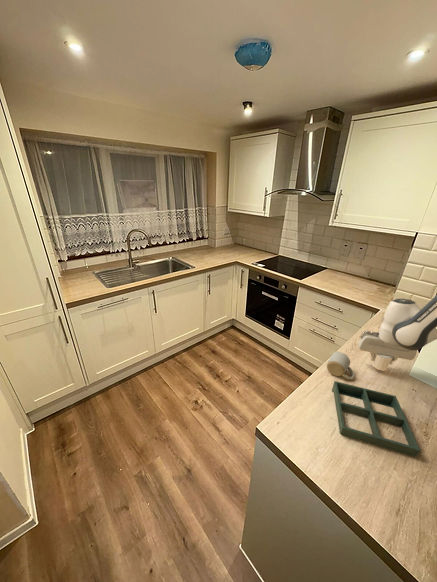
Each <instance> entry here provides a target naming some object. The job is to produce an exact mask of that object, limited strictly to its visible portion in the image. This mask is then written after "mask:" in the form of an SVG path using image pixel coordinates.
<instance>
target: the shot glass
mask: <svg viewBox="0 0 437 582" xmlns="http://www.w3.org/2000/svg"><path fill="white" fill-rule="evenodd" d="M373 356H374V361H371V365H372V367H373V368H375V369H376V370H378V371H386V370H387V369H388V367H389V366H390V365H391V364H390V362H391V360H392V359H393V357H392V356H387V355H382V354H377V353H375V355H373Z"/></svg>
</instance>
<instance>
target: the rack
mask: <svg viewBox="0 0 437 582" xmlns="http://www.w3.org/2000/svg"><path fill="white" fill-rule="evenodd" d="M331 392H332V393H333V398H334V404H335V409H336V411H335V412H336V417H337V423H338V429H339V430H338V431H339V435H341V436H343V437H344V436H345V437H348V438H351V439H354V440H358V441H361V442H365V443H367V444H371V445H374V446H376V447H377V446H378V447H382V448H383V449H387V450H391V451H395V452H398V453H401V454H404V455H406V456H410V457H414V458H417V457H418V456H419V455H420V453H421V448H420V447H419V444H418V442H417V440H416V437H415V435H414V433H413V432H412V428H411V427H410V424H409V421H408V420H407V418H406V416H405V413H404V411H403V408H402V406H401V405H400V402H399V400H398V398H397V396H396V395H393V394H390V393H385V392H382V391H377V390H374V389H373V390H372V389H368V388H364V387H361V386H357V385H353V384H349V383H345V382H340V381H336V380H334V381H333V384H332V388H331ZM340 395H342V396H345V397H349V398H353V399H357V400H361V401H362V403H363V407H362V406H358V405H354V404H351V403H348V402H343V401H341V398H340ZM371 403H373V404H377V405H381V406H384V407H388V408H392V409H393V411H394V413H395V415H392V414H388V413H384V412H381V411H377V410H373V407H372V405H371ZM343 412H347V413H349V414H354V415H358V416H360V417H364V418H367V421H368V424H369V427H370V432H371V433H368V432H365V431H361V430H359V429H354V428H351V427H348V426H345V419H344V414H343ZM377 421H380V422H383V423H386V424H390V425H393V426H398V427H400V428H401V430H402V432H403V435H404V437H405V439H406V442H407V444H406V443H404V442H403V443H402V442H399V441H396V440H393V439H389V438H386V437H382V436H381V433H380V431H379V428H378V424H377Z"/></svg>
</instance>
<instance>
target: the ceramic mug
mask: <svg viewBox="0 0 437 582" xmlns="http://www.w3.org/2000/svg"><path fill="white" fill-rule="evenodd" d="M350 365H351V360H350V357H349V356H348V355H347V354H346V353H344V352H341V351H335V352H333V353H332V354H331V355H330V357H329V359H328V361H327V363H326V369H327V371H328V372H329V373H330V374H331V375H333V376H336V377H341V376H342V377H343V378H345V379H347V380H348V381H349V380H352V379H354V377H355V372H354V371H353V369H352V368H351V367H350ZM347 371H348V372H349V373H350V376H348V375H347V374H346V372H347Z"/></svg>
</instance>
